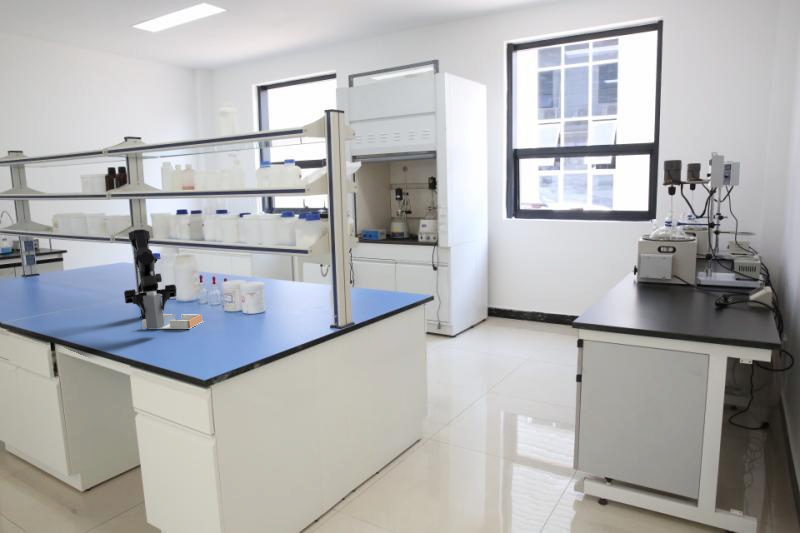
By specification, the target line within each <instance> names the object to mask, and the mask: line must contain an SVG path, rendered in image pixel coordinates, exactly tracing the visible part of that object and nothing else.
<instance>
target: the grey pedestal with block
mask: <svg viewBox="0 0 800 533" xmlns="http://www.w3.org/2000/svg"><path fill="white" fill-rule="evenodd" d="M143 301H144V308H145V316H146V318H145V320H146V324H147V328H149V329H158V328H160V327H162V326H164V319H163V314H164V313H163V312H164V311H163V310H162V295H161V294H157V293H156V291H149V292H147V295H145V296H143Z"/></svg>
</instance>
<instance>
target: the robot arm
mask: <svg viewBox="0 0 800 533" xmlns="http://www.w3.org/2000/svg"><path fill="white" fill-rule="evenodd" d="M127 236H128V241H129V242H130V243H131V247H132V248H133V249H134V251H135V256H134V257H133V260H134V265H135V266H137V268H138V274H139V281H140V283H139V285H138V288H137V291H136V289H127V290H124V291H123V294H124V301H125V302H124V303H125V304H133V305H137V307H138V308H139V309H140V316H139V317H140V318H139V319H146V316H145V308H144V301H143V296H145V295H147V292H149V291H156V293H157V294H161V302H162V310H163V312H164V311H165V307H166V304H167V301H168V300H170V299H171V298H175V297H177V286H176V285H175V284H167V285H166V284H165V285H164V288H162V289H159V283H161V282H162V274H161V273H156V271H155V264H157V262H158V258H157V257H156V256H155V255H154V254H153V250H151V249H149V247H148V246H149V242H150V240H151V237H150V236H151V235H150V231H149V230H147V229H144V228H143V229H134V230H131V231H130V232H128V234H127ZM141 317H142V318H141Z"/></svg>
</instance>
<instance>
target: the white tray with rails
mask: <svg viewBox="0 0 800 533" xmlns="http://www.w3.org/2000/svg"><path fill="white" fill-rule="evenodd" d="M180 316H181V317H180V318H181V319H176V314H175V313H163V319H164V326H162V327H160V328H159V329H190V328H192V327H194V326H196V325H198V324H200V323H202V322H203V323H204V320H203V315H202V314H196V313H195V314H193V313H191V314H186V313H185V314H184V313H183V314H180ZM141 322H142V326H141V327H140V329H141V328H147V324H146V318H143V319H142V320H141ZM203 323H202V324H203ZM200 325H201V324H200ZM198 326H199V325H198ZM196 327H197V326H196ZM194 328H195V327H194Z"/></svg>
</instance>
